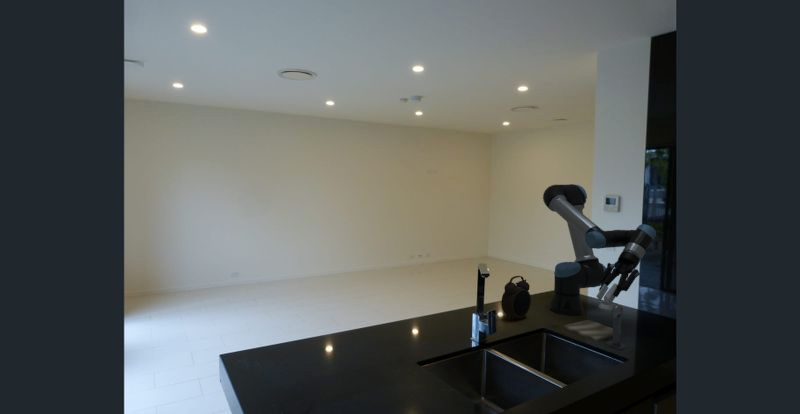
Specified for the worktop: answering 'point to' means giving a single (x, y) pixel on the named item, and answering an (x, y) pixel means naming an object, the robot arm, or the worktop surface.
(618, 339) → the eye post
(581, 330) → the pad
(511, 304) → the alarm clock
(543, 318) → the worktop surface
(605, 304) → the hook
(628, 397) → the worktop surface
